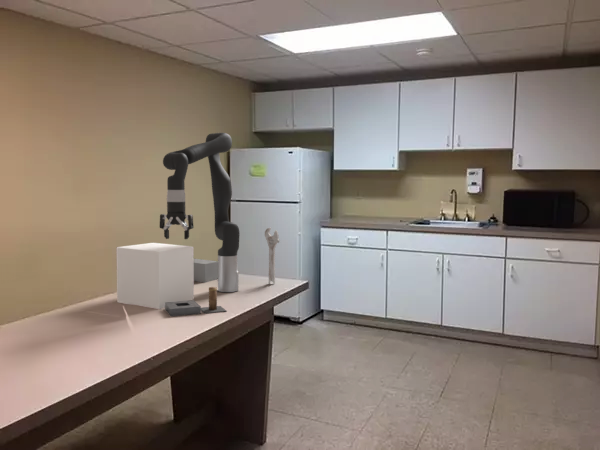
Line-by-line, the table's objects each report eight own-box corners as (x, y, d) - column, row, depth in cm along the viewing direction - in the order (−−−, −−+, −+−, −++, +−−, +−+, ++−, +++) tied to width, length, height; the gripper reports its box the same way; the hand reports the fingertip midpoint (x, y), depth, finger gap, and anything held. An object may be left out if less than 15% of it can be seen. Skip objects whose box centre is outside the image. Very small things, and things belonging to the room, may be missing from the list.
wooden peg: (215, 307, 219) (215, 286, 218) (217, 309, 216) (217, 288, 215) (207, 308, 218) (207, 287, 217) (209, 310, 215) (209, 288, 214)
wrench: (279, 286, 268) (280, 227, 265) (278, 287, 266) (279, 228, 264) (265, 285, 270) (265, 227, 268) (264, 285, 269) (264, 227, 266)
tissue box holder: (233, 278, 290) (233, 258, 289) (204, 285, 270) (204, 264, 269) (199, 273, 303) (199, 255, 302) (170, 279, 283) (169, 259, 282)
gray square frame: (194, 307, 222) (194, 300, 221) (200, 313, 211) (200, 306, 210) (165, 309, 217) (165, 302, 216) (170, 316, 206) (170, 309, 206)
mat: (220, 306, 223) (220, 305, 223) (226, 311, 215) (226, 310, 215) (199, 308, 219) (199, 307, 219) (204, 313, 211) (204, 312, 211)
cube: (193, 300, 236) (193, 246, 234) (159, 310, 218) (158, 251, 216) (153, 293, 248) (152, 242, 246) (117, 302, 230) (116, 247, 228)
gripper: (195, 200, 223) (195, 238, 224) (164, 200, 226) (164, 237, 227) (188, 201, 216) (189, 240, 217) (156, 200, 218) (156, 239, 220)
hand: (176, 238), depth 222 cm, fingers open, 8 cm apart
